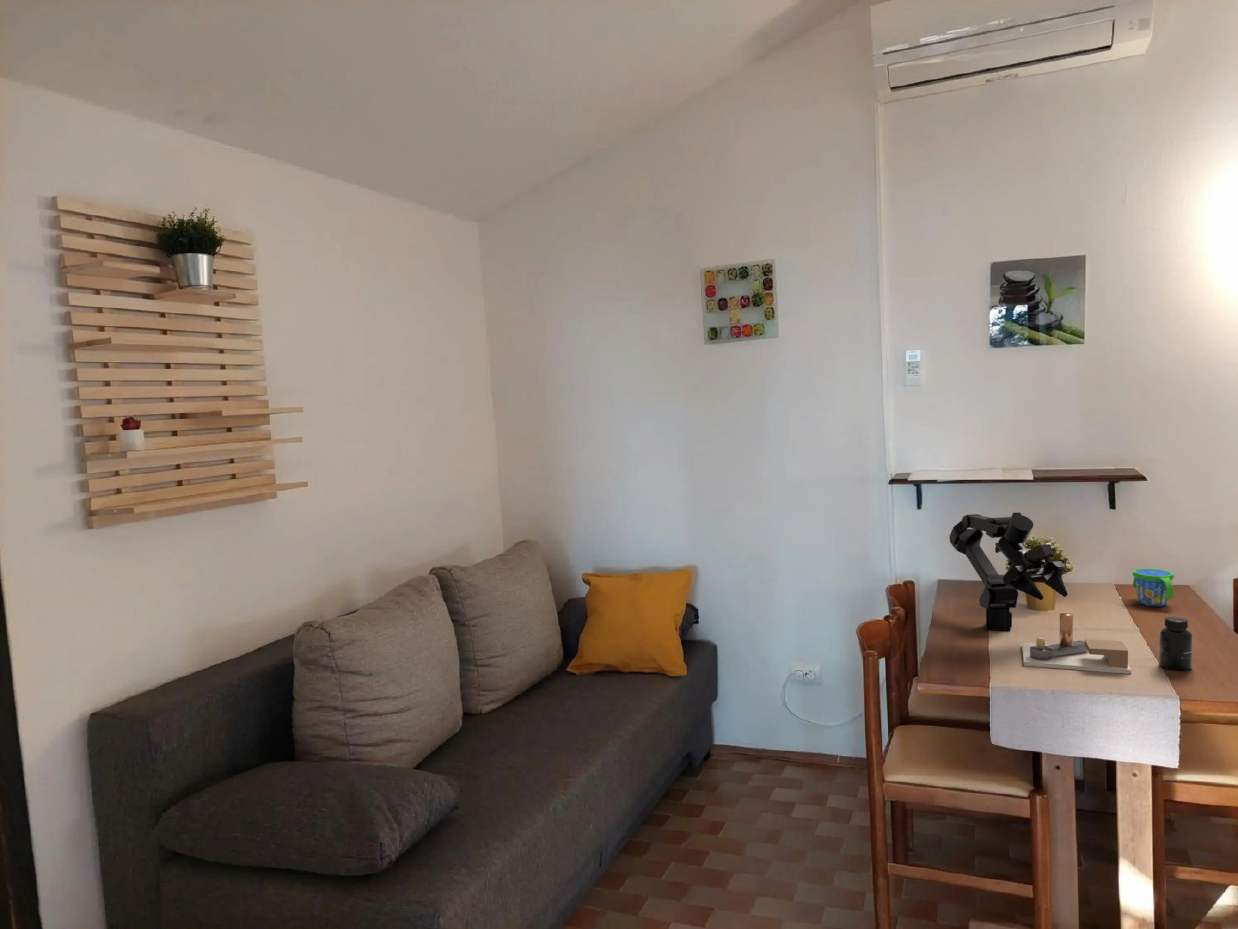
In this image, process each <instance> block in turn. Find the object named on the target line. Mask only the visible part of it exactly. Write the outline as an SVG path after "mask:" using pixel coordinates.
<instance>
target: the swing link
mask: <svg viewBox="0 0 1238 929" xmlns="http://www.w3.org/2000/svg"><path fill="white" fill-rule="evenodd" d="M1073 626H1074V614H1072V613H1069V612H1060V613H1059V643H1055V644H1046V645H1047V646H1045V649H1039V648H1036V646H1032V647H1030V657H1032V658H1035V659H1042V660H1046V659H1051V658H1052V657H1055V656H1062V655H1068V654H1074V653H1080V652H1087V651H1088V650H1087V649H1086V647H1085V640H1081V639H1080V640H1074V639H1073V638H1074V637H1073V636H1074V627H1073Z"/></svg>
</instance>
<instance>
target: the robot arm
mask: <svg viewBox="0 0 1238 929" xmlns="http://www.w3.org/2000/svg"><path fill="white" fill-rule="evenodd" d="M1033 527H1034V522H1033V520H1032V519H1030V518H1029V517H1027V516H1025V515H1022V513H1021V512H1012V515H1011V516H1004V517H989V516H984V515H981V514H979V513H978V514H976V513H975V514H965V515H963V517H962V519H961V520H960V521H959V522H958V523H957V524H954V526H953V527H952V529H951V532H950V533H949V542H950V544H951V546H952V547H953V549H955V550H956V552H958V553H960V554H962V555H965V556H966V558H967V559H968V561H969V563H970V564H971V566H972V567H973V569H974V570H975V572H976V573H977V575H978V576H979V578H980V580H981V582H982V583H983V585H984V588H983V589H982V590H983V591H982V593H981V594H980V596H979V598H978V601H979V606H980V607H982V608H984V609H985V630H991V631H992V630H993V631H1001V632H1002V631H1005V632H1008V631H1009V632H1010V631H1011V628H1012V627H1013V613H1012V611H1010V609H1011V608H1014V609H1016V608H1017V603H1018V598H1019V592H1018V591H1020V592H1023V593H1025V594H1027V595H1028V596H1031V597H1033V598H1035V599H1037V600H1039V601H1043V599H1044V595H1043V594H1042V592H1041V590H1040V589H1039V588H1038V587H1037V585H1036V584H1035V583H1034V582H1033V580H1032V578H1036V577H1039V578H1040V579H1041V580H1042V581H1043V582H1044V584H1045V585H1047V587H1049V588H1051V589H1052V590H1054V591H1055V592H1056V593H1057V594H1060V596H1062V597H1064V598H1066V597H1067V596H1068V595H1069V594H1068V591H1067V589H1066V586H1065V584H1064V580H1063V577H1062V576H1063V572H1064V571H1065V569H1066V565H1065V564H1064V563H1063V561H1060V560H1056V561H1054V560H1053V561H1052V560H1051V561H1048V562H1047V563H1046V561H1045V560H1047V559H1048V558H1051V557H1054V556H1056V555H1055V554H1056V553H1057V549H1056V546H1054V545H1053V544H1052V543H1051V542H1045V543H1044V544H1039V545H1037V546H1034V547H1033V548H1027V547H1026V546H1025V544H1024V543H1025V542H1026V541H1027V539H1028V538H1029V535H1030V533H1031V531H1032V530H1033ZM984 532H985V534H986V536H988V537H989V538H990V539H997V538H998V539H999V540H998V542H995V548H994V550H995V554H998V553H1002V554H1003V555H1004V556H1005V558H1007V561H1008V563H1007V565H1008V566H1009V568H1008V570H1007V571H1006V572H1005V573H1004V574H999V573H998V572H999V571H997V569H996V568H995V566H994V564H993V563H992V562H991V560H990V559H989V557H988V556H987V554H985V553H986V552H985V551H984V550H983V548H982V547H981V541H982V538H983V536H984ZM1045 563H1046V564H1045ZM1044 564H1045V565H1044ZM1043 565H1044V566H1043ZM1042 566H1043V567H1042Z"/></svg>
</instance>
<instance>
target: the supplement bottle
mask: <svg viewBox="0 0 1238 929" xmlns="http://www.w3.org/2000/svg"><path fill="white" fill-rule="evenodd" d="M1163 625H1164V627H1163V628H1162V629H1161V630H1159V645H1158V646H1159V650H1158V651H1159V652H1158V665H1159V666H1161V667H1162V668H1165V669H1167V670H1171V671H1177V672H1179V671H1180V672H1181V671H1189V670H1191V669H1192V665H1193V633H1192V632H1191V631H1190V630H1188V629H1189V620H1188V619H1186V618H1183V617H1178V616H1167V617H1165V618H1164V623H1163Z"/></svg>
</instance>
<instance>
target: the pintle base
mask: <svg viewBox="0 0 1238 929" xmlns="http://www.w3.org/2000/svg"><path fill="white" fill-rule="evenodd" d="M1035 642H1036V643H1030V642H1029V643H1028V642H1022V643H1021V646H1022V647H1021V648H1022V659H1023V665H1024V666H1025V667H1037V668H1038V667H1039V668H1050V669H1063V670H1076V671H1078V670H1079V671H1091V672H1103V673H1114V674H1127V675H1128V674H1129V675H1132V669H1131V667H1130V665H1129V649H1128V648H1127V647H1126V645H1125V644H1124V643H1123V641H1122V640H1108V639H1107V640H1106V639H1092V638H1091V639H1090V638H1089V639H1088V638H1084V642H1085V647H1086V649H1087V650H1088V651H1087V652H1080V653H1074V654H1068V655H1062V656H1055V657H1052V658H1051V659H1046V660H1042V659H1035V658H1032V657H1030V647H1032V646H1036V648H1039V649H1045V646H1047V645H1048V644H1046V638H1044V637H1041V636H1039V637H1036V641H1035Z"/></svg>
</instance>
